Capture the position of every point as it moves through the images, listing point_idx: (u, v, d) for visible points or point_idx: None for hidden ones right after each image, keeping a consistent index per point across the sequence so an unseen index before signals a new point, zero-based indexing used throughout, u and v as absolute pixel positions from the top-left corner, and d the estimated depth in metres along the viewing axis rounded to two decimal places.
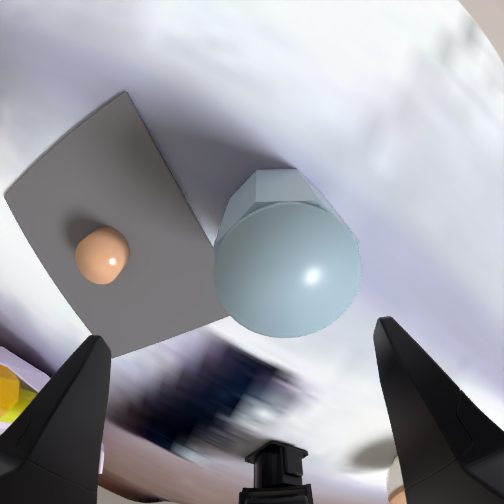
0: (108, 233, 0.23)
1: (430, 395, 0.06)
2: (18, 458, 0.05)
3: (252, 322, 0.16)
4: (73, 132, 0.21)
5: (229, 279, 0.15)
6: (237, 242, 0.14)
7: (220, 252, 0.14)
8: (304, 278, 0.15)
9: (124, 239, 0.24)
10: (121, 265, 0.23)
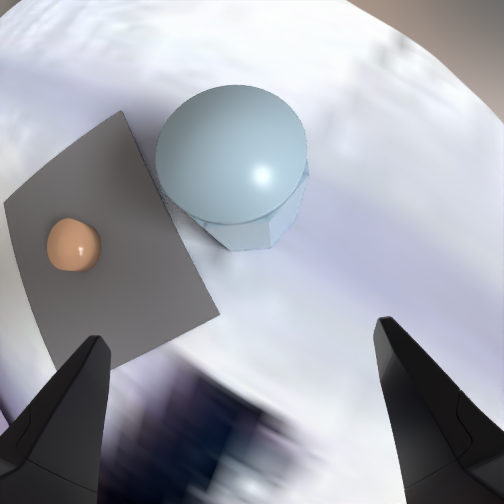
0: (83, 223, 0.23)
1: (430, 395, 0.06)
2: (18, 457, 0.05)
3: (190, 200, 0.14)
4: (74, 143, 0.25)
5: (169, 153, 0.14)
6: (179, 118, 0.14)
7: (164, 128, 0.14)
8: (243, 143, 0.14)
9: (97, 234, 0.24)
10: (88, 250, 0.22)
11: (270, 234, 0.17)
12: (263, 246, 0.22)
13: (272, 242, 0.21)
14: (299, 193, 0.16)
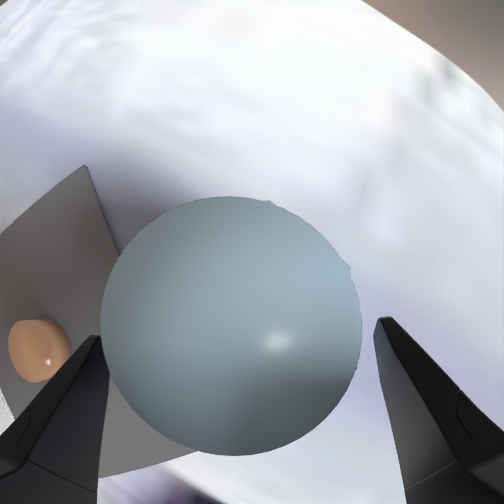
0: (45, 323, 0.17)
1: (430, 395, 0.06)
2: (18, 457, 0.05)
3: (165, 420, 0.08)
4: (32, 207, 0.19)
5: (122, 333, 0.08)
6: (133, 265, 0.08)
7: (109, 283, 0.08)
8: (249, 331, 0.08)
9: (65, 336, 0.18)
10: (54, 363, 0.16)
11: None
12: None
13: None
14: None
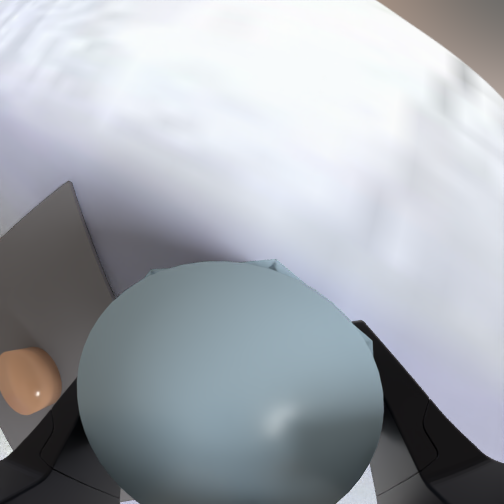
0: (33, 353, 0.15)
1: (396, 404, 0.06)
2: (42, 466, 0.05)
3: (158, 502, 0.06)
4: (15, 226, 0.17)
5: (103, 415, 0.06)
6: (109, 341, 0.06)
7: (83, 359, 0.06)
8: (251, 426, 0.06)
9: (54, 366, 0.16)
10: (43, 396, 0.14)
11: None
12: None
13: None
14: None
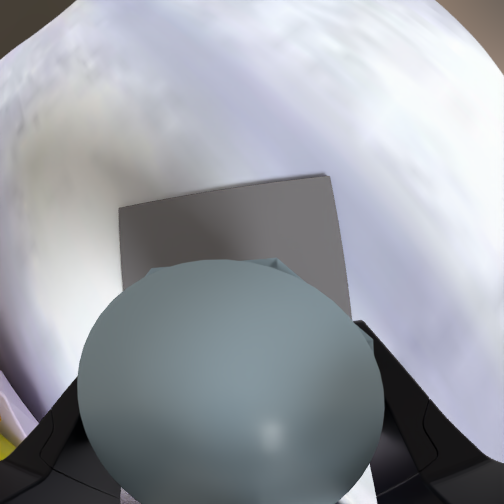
0: None
1: (396, 403, 0.06)
2: (42, 466, 0.05)
3: (158, 501, 0.06)
4: (255, 186, 0.22)
5: (103, 414, 0.06)
6: (109, 340, 0.06)
7: (83, 358, 0.06)
8: (252, 424, 0.06)
9: None
10: None
11: None
12: None
13: None
14: None
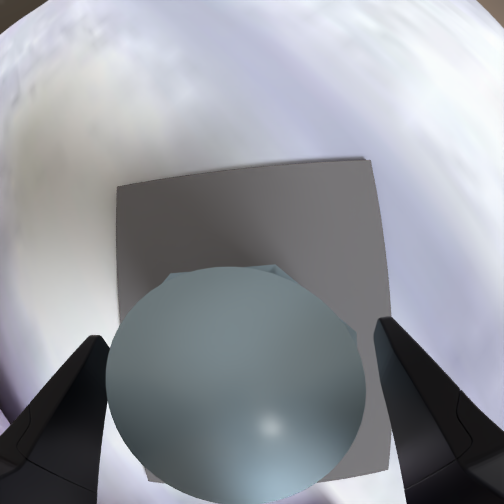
0: None
1: (430, 395, 0.06)
2: (18, 457, 0.05)
3: (174, 475, 0.07)
4: (283, 166, 0.18)
5: (128, 398, 0.08)
6: (135, 334, 0.08)
7: (112, 350, 0.08)
8: (255, 402, 0.07)
9: None
10: None
11: None
12: None
13: None
14: None
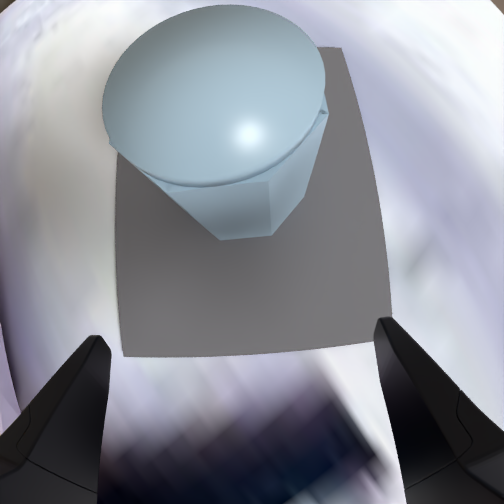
0: None
1: (430, 395, 0.06)
2: (18, 457, 0.05)
3: (145, 149, 0.08)
4: None
5: (122, 88, 0.09)
6: (141, 46, 0.09)
7: (119, 60, 0.09)
8: (229, 68, 0.08)
9: None
10: None
11: (270, 209, 0.12)
12: (261, 232, 0.17)
13: (273, 226, 0.16)
14: (312, 147, 0.10)
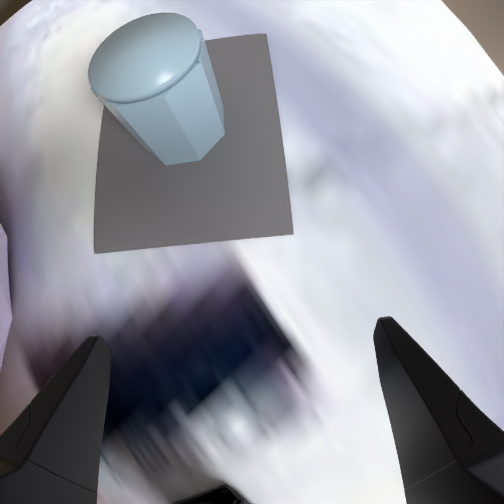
0: None
1: (430, 395, 0.06)
2: (18, 457, 0.05)
3: (106, 87, 0.15)
4: (210, 40, 0.26)
5: (99, 61, 0.15)
6: (110, 39, 0.15)
7: (98, 47, 0.15)
8: (151, 46, 0.15)
9: None
10: None
11: (181, 125, 0.19)
12: (189, 154, 0.23)
13: (196, 148, 0.22)
14: (200, 84, 0.17)
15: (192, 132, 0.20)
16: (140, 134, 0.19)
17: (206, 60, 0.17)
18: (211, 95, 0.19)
